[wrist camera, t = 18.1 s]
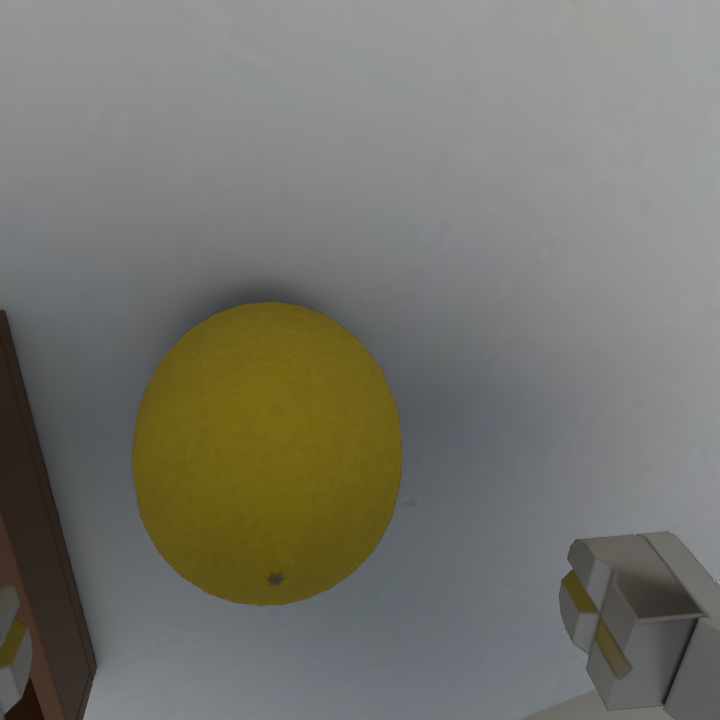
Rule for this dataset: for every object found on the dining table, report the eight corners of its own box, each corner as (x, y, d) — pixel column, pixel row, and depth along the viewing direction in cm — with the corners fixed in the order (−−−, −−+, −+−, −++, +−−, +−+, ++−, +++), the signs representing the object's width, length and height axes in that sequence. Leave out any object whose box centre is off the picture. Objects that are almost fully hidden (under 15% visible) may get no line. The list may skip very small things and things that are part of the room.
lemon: (304, 467, 18) (328, 726, 11) (128, 389, 17) (26, 643, 9) (409, 322, 17) (514, 519, 10) (227, 216, 15) (193, 366, 8)
